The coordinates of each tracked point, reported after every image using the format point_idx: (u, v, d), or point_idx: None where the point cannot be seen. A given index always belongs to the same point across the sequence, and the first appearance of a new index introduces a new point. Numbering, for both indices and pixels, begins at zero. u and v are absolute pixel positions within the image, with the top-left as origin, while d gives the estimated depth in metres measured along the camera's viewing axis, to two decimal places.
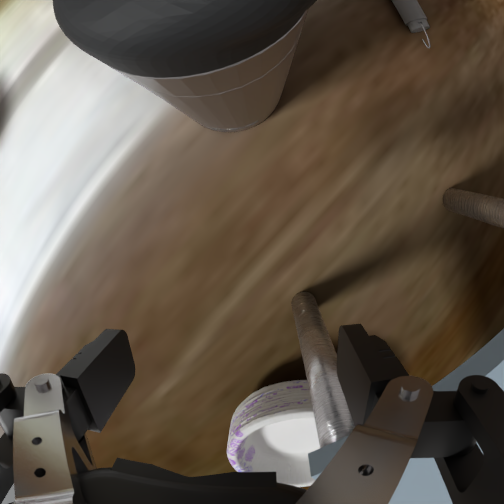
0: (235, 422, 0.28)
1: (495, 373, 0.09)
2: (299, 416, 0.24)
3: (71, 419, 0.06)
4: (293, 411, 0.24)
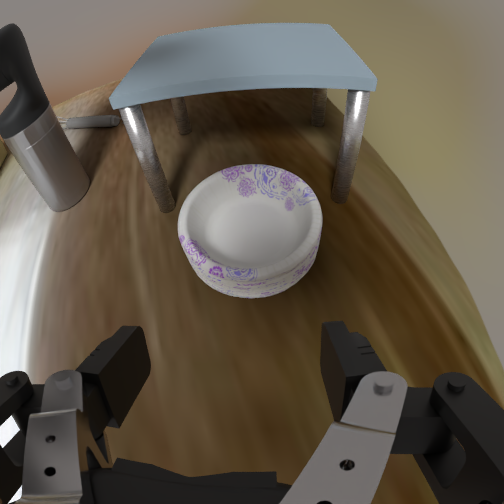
0: None
1: (137, 63, 0.31)
2: (194, 192, 0.33)
3: (92, 415, 0.07)
4: (188, 195, 0.33)
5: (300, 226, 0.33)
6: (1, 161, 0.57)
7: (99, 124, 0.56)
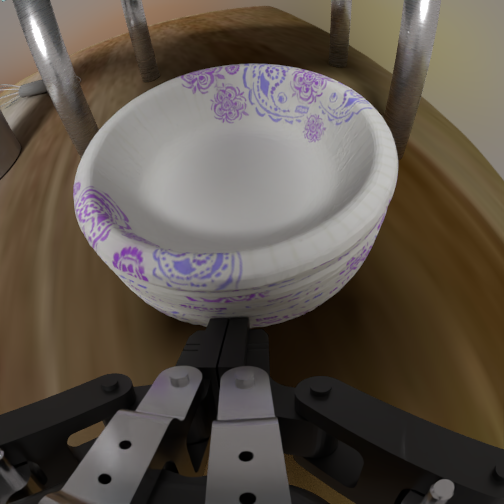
0: None
1: None
2: (125, 108, 0.15)
3: (209, 411, 0.07)
4: (113, 115, 0.15)
5: (342, 164, 0.14)
6: None
7: None
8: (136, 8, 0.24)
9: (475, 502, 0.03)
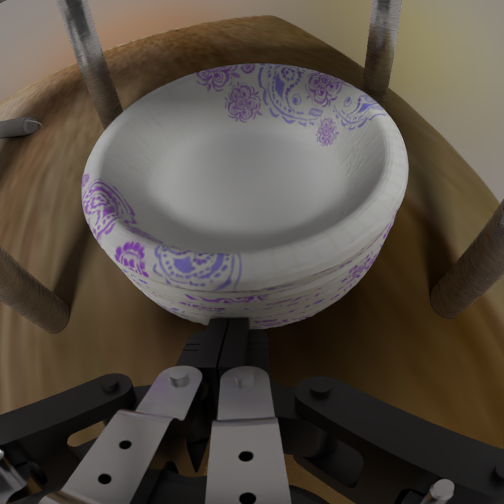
0: None
1: None
2: (138, 102, 0.15)
3: (209, 412, 0.07)
4: (127, 109, 0.15)
5: (353, 170, 0.14)
6: None
7: (11, 132, 0.30)
8: (87, 42, 0.17)
9: (475, 502, 0.03)
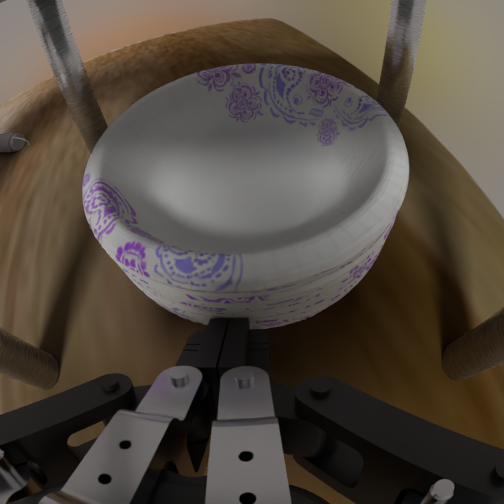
0: None
1: None
2: (139, 102, 0.15)
3: (208, 411, 0.07)
4: (128, 108, 0.15)
5: (354, 171, 0.14)
6: None
7: None
8: (66, 60, 0.15)
9: (475, 502, 0.03)
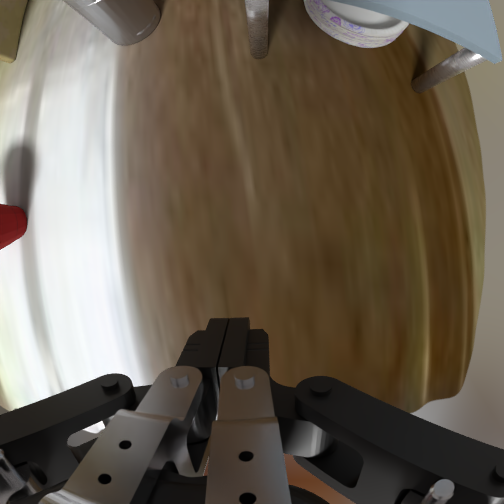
0: (309, 4, 0.30)
1: None
2: None
3: (209, 412, 0.07)
4: None
5: None
6: (26, 0, 0.32)
7: None
8: None
9: (475, 502, 0.03)
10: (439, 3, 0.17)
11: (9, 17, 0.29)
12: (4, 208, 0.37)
